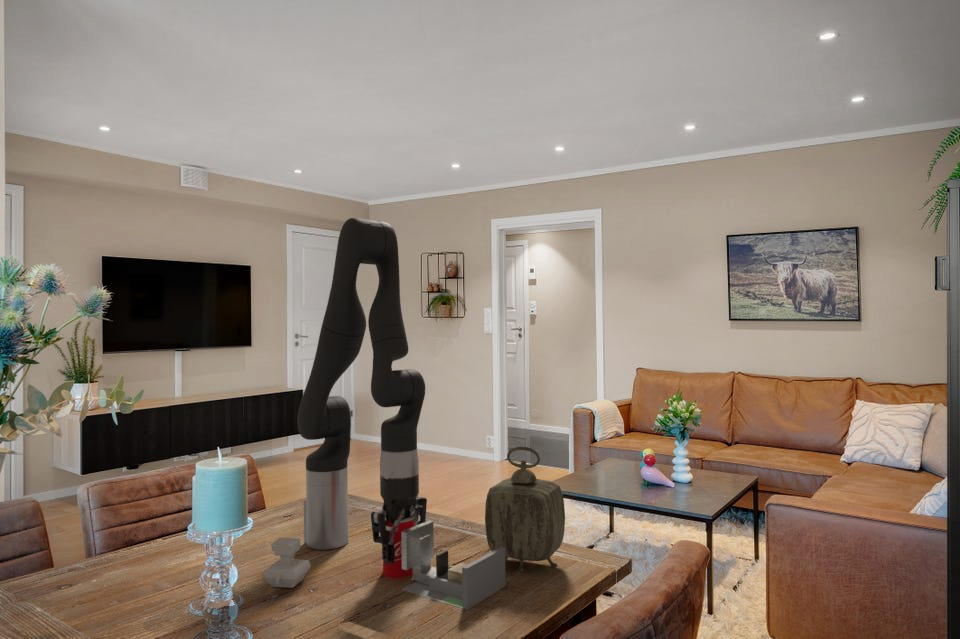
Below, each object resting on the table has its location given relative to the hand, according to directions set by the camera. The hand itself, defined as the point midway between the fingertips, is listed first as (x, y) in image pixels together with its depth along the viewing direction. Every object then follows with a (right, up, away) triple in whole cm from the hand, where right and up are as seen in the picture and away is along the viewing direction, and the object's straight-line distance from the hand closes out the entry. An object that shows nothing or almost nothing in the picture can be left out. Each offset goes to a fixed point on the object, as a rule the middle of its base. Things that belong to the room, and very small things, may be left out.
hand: (400, 557), depth 128 cm
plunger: (+6, -3, -4) cm, 8 cm away
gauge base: (+10, -4, -7) cm, 13 cm away
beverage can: (0, -4, 0) cm, 4 cm away
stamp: (-21, -5, -2) cm, 22 cm away
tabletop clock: (+24, -4, +2) cm, 25 cm away
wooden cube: (+13, -3, -9) cm, 16 cm away
